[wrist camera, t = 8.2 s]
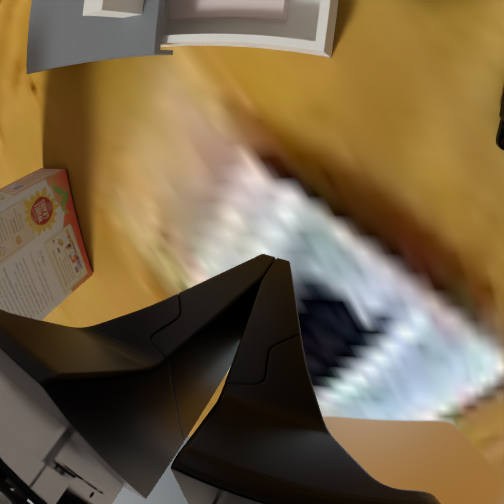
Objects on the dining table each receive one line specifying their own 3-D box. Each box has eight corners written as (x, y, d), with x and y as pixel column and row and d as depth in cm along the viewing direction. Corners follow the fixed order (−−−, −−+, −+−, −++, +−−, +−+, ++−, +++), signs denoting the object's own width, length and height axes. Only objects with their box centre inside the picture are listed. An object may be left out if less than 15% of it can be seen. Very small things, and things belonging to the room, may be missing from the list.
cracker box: (40, 167, 30) (-101, 254, 13) (68, 167, 28) (-95, 270, 12) (66, 264, 37) (-41, 361, 21) (95, 275, 36) (-21, 387, 19)
